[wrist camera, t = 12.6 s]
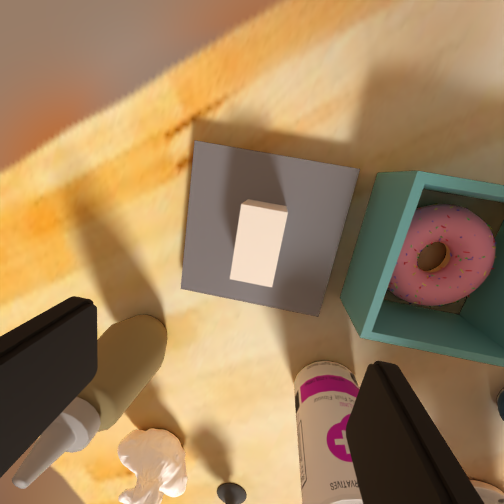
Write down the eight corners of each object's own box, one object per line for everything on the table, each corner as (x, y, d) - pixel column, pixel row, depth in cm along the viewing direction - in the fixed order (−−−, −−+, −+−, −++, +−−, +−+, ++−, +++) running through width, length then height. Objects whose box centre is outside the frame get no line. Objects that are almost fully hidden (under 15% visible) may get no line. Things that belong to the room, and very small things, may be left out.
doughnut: (407, 184, 26) (430, 185, 23) (499, 228, 27) (538, 238, 23) (352, 271, 30) (363, 286, 26) (435, 310, 30) (458, 331, 26)
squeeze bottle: (187, 342, 35) (97, 504, 18) (144, 365, 37) (24, 531, 19) (151, 296, 33) (14, 423, 16) (108, 322, 35) (-56, 461, 18)
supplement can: (312, 347, 33) (338, 478, 19) (368, 374, 33) (435, 523, 19) (283, 390, 35) (285, 535, 21) (335, 415, 36) (372, 575, 21)
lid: (353, 169, 26) (379, 167, 20) (315, 307, 31) (326, 344, 24) (201, 143, 27) (174, 131, 20) (187, 281, 32) (162, 309, 25)
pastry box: (522, 197, 26) (626, 206, 18) (463, 321, 30) (526, 371, 22) (377, 172, 26) (417, 170, 19) (339, 297, 31) (360, 337, 23)
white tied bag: (199, 445, 43) (211, 489, 33) (168, 493, 40) (170, 557, 30) (143, 404, 42) (137, 436, 31) (107, 450, 39) (87, 502, 29)
